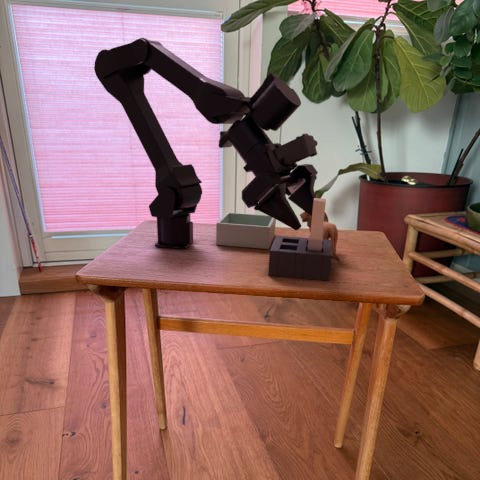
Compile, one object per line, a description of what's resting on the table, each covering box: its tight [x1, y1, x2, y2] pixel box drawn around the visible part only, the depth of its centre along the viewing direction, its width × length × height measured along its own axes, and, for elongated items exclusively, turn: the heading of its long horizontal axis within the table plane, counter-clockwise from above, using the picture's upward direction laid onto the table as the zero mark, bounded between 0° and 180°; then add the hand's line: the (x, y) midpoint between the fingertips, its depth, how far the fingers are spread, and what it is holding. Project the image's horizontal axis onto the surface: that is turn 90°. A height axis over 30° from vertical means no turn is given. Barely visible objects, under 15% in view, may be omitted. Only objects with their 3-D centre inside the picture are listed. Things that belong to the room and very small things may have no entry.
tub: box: [215, 212, 277, 250], centre depth 99 cm, size 11×11×5 cm
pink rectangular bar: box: [307, 197, 327, 252], centre depth 78 cm, size 2×3×13 cm
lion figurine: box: [299, 210, 341, 262], centre depth 91 cm, size 15×5×9 cm, turn 19°
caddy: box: [267, 235, 333, 282], centre depth 82 cm, size 10×10×4 cm
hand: (310, 223), depth 78 cm, fingers open, 9 cm apart
